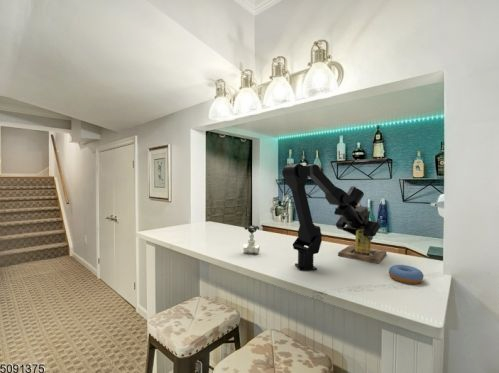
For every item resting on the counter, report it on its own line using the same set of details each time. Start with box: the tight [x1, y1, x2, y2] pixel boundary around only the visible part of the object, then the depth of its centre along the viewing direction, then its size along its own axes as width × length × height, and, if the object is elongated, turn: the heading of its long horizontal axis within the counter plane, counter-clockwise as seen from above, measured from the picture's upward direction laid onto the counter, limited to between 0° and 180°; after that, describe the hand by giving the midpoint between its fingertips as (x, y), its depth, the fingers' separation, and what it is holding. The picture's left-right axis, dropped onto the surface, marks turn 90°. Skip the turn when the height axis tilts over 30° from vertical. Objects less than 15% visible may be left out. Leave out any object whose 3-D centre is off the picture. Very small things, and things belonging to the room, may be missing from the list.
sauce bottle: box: [354, 209, 372, 256], centre depth 112 cm, size 6×6×20 cm
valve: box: [243, 224, 260, 255], centre depth 113 cm, size 7×7×12 cm
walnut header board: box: [337, 244, 387, 264], centre depth 113 cm, size 16×16×2 cm
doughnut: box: [388, 264, 425, 285], centre depth 86 cm, size 10×10×5 cm
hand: (365, 237), depth 113 cm, fingers closed on sauce bottle, 6 cm apart
